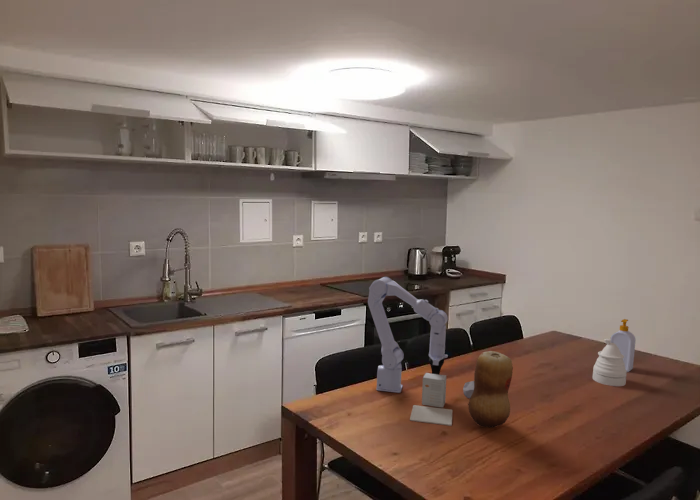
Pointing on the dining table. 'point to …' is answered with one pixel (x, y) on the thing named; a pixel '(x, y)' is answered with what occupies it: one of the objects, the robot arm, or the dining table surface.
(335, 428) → the dining table surface
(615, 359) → the honey pot
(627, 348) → the soap bottle
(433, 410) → the mat
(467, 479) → the dining table surface
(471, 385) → the stone block
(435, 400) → the small box
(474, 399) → the butternut squash
